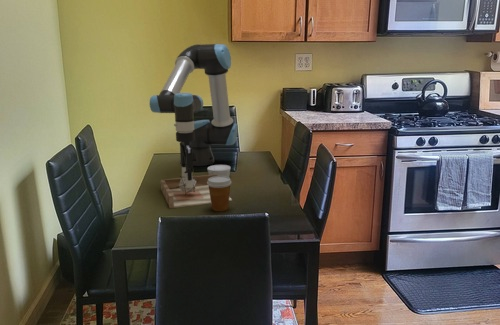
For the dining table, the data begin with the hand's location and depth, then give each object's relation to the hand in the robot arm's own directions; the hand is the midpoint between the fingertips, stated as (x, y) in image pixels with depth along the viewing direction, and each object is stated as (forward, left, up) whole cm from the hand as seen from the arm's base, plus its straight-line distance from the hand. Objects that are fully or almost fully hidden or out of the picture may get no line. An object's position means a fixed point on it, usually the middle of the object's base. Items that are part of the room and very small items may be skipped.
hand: (187, 184), depth 191 cm
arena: (-1, +3, -5) cm, 6 cm away
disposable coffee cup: (+18, +9, -6) cm, 21 cm away
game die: (0, 0, -4) cm, 4 cm away
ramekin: (-24, +20, -6) cm, 31 cm away
